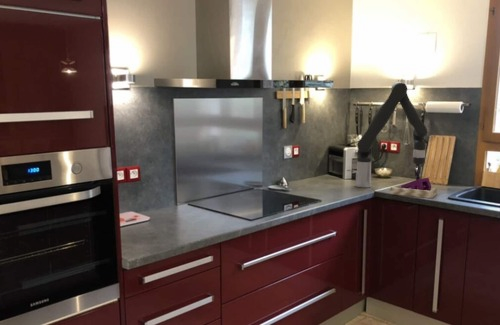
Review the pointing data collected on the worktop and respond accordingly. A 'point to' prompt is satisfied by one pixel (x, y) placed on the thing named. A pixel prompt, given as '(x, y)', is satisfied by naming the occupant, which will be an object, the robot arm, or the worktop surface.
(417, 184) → the purple wedge
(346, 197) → the worktop surface
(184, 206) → the worktop surface
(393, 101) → the robot arm
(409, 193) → the beige tray
